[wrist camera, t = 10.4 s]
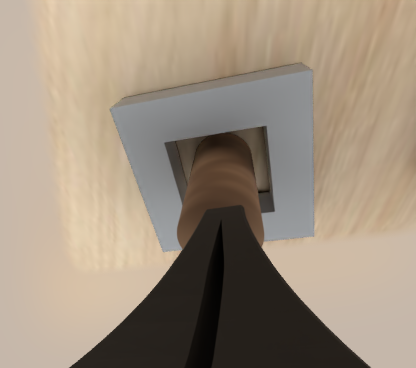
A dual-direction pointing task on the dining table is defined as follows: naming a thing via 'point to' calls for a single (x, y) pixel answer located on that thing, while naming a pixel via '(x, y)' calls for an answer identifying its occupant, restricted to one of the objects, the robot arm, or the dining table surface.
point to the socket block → (220, 123)
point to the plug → (220, 184)
